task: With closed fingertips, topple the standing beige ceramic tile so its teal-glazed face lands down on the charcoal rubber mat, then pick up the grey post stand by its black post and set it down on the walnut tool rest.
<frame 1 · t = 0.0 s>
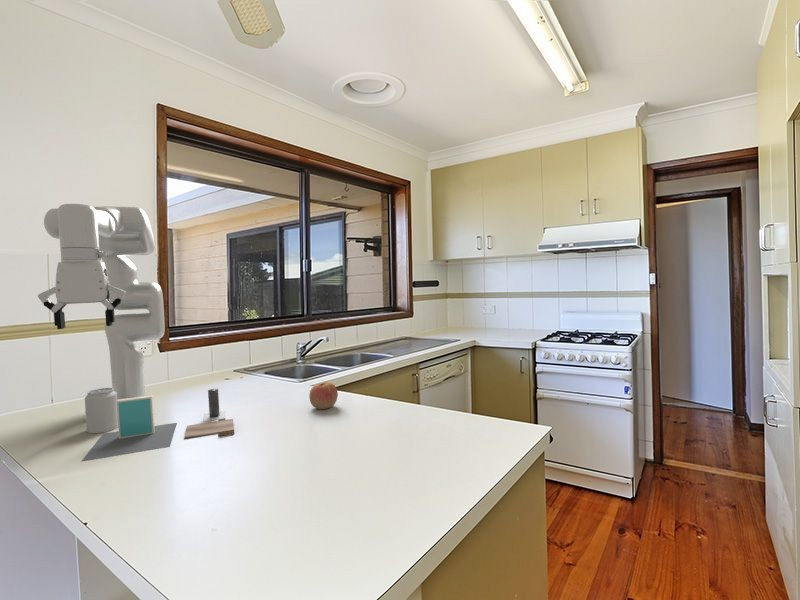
hand: (85, 327, 102), 31 cm above the countertop, fingers open, 9 cm apart
can: (103, 432, 119), on the countertop
tile: (137, 434, 113), point 1 cm above the countertop, touching mat
mat: (134, 442, 110), on the countertop
grey post stand: (214, 419, 127), on the countertop
tool rest: (210, 431, 116), on the countertop
apple: (323, 408, 134), on the countertop
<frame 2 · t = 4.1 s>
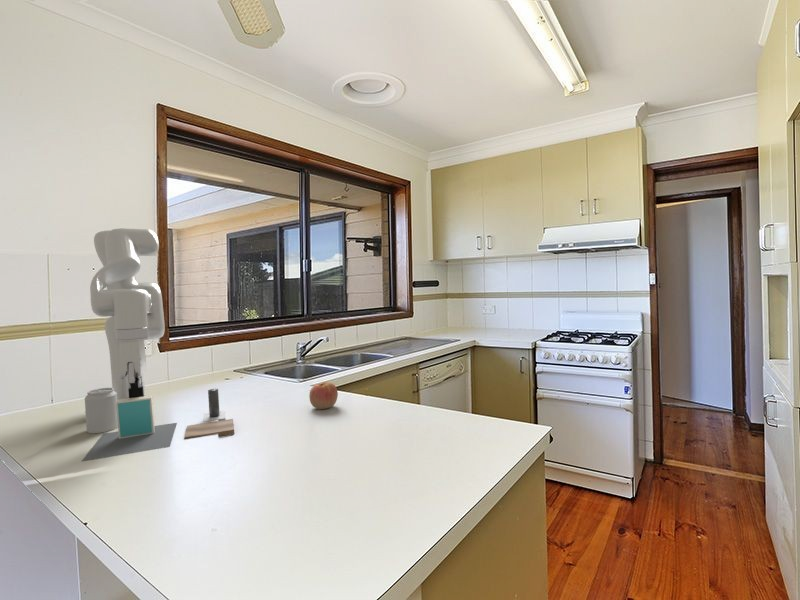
hand: (136, 401, 115), 9 cm above the countertop, fingers closed
tile: (137, 434, 113), point 1 cm above the countertop, touching gripper, mat
everything else where it was.
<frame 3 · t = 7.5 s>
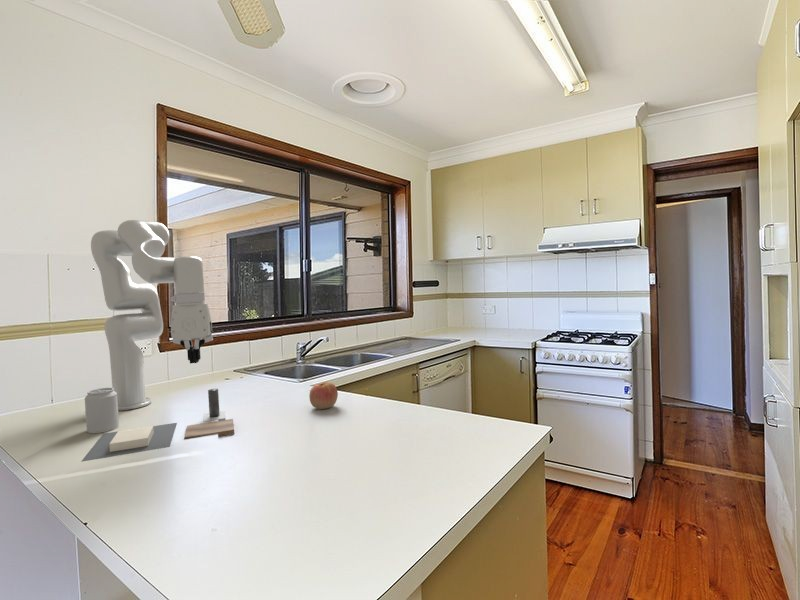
hand: (194, 362, 122), 18 cm above the countertop, fingers closed
tile: (136, 431, 112), point 2 cm above the countertop, tilted 90°, touching mat
everything else where it was.
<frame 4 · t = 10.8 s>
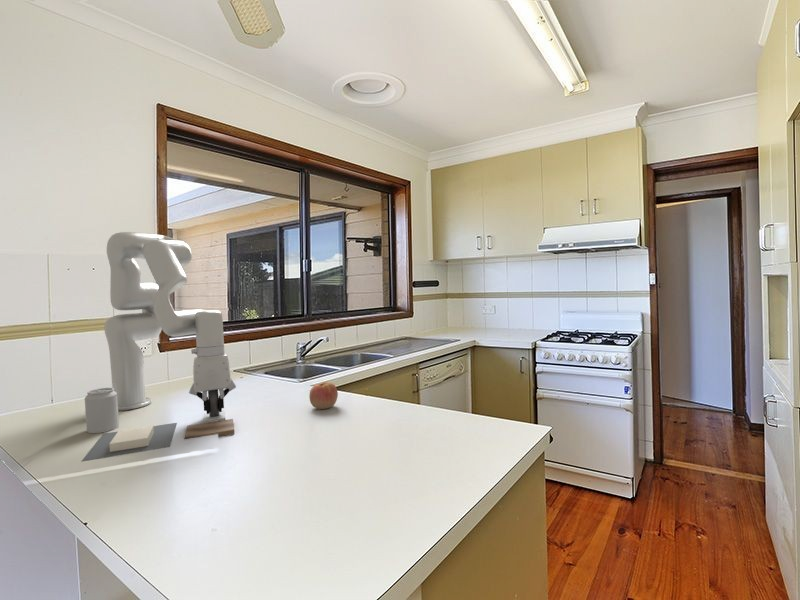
hand: (214, 411, 127), 2 cm above the countertop, fingers closed on grey post stand, 2 cm apart
grey post stand: (214, 418, 127), on the countertop, touching gripper
everything else where it was.
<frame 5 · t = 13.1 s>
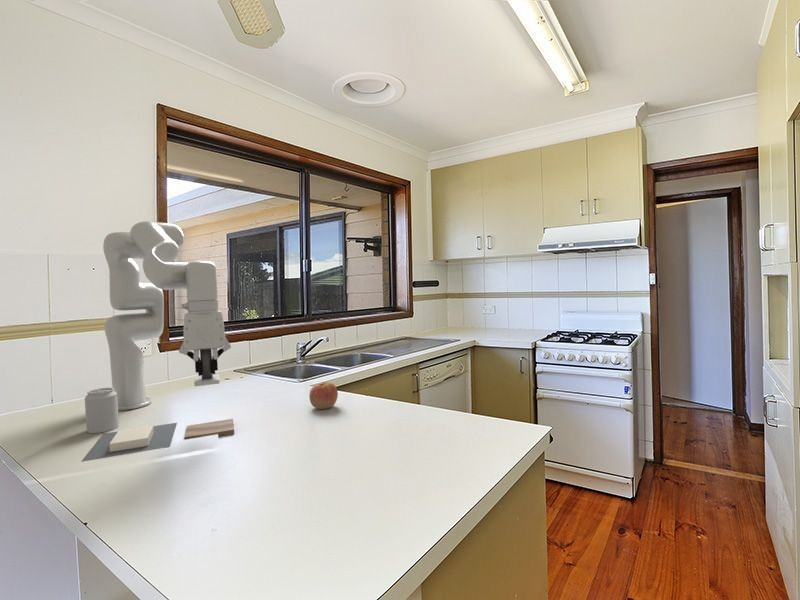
hand: (207, 373, 115), 16 cm above the countertop, fingers closed on grey post stand, 2 cm apart
grey post stand: (207, 381, 115), point 14 cm above the countertop, touching gripper
everything else where it was.
when the fingers open (5 cm above the countertop, at t = 15.3 s): grey post stand drops 1 cm, resting on tool rest.
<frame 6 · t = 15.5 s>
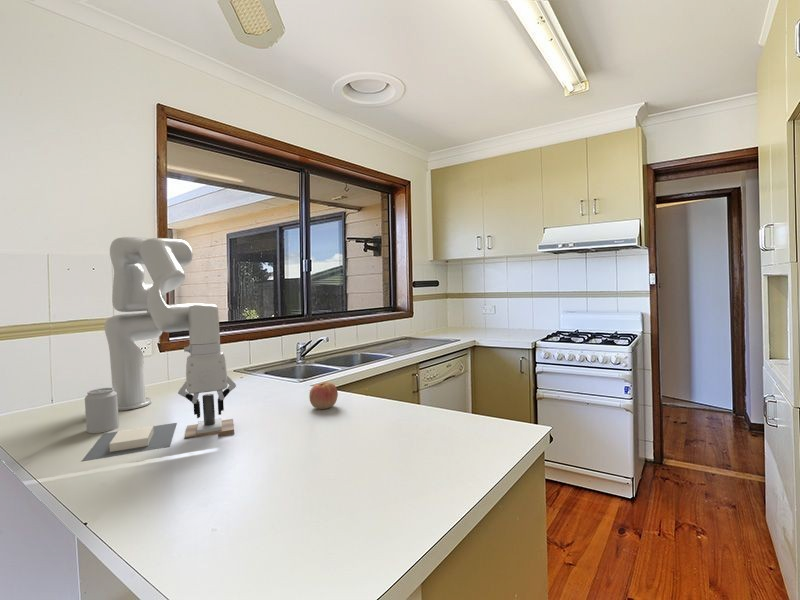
hand: (209, 414, 116), 5 cm above the countertop, fingers open, 4 cm apart
grey post stand: (209, 427, 116), point 1 cm above the countertop, touching tool rest
everything else where it was.
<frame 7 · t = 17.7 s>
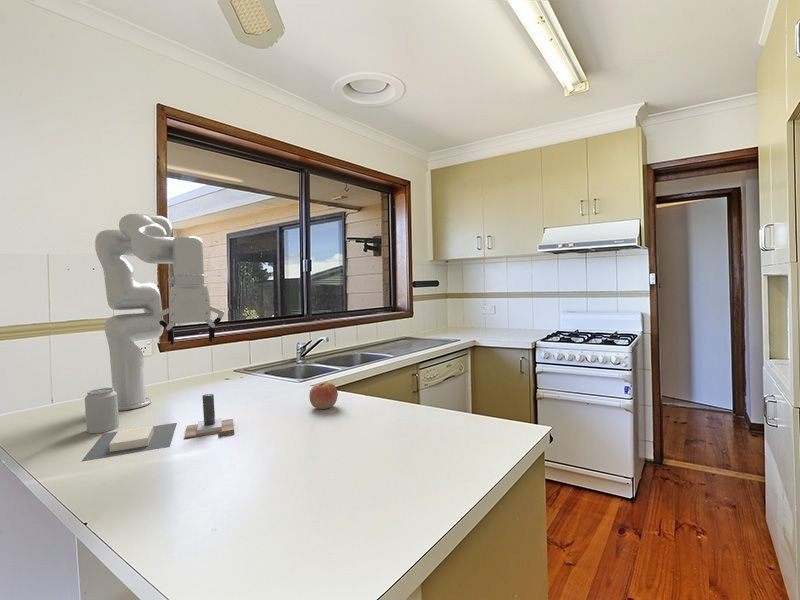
hand: (192, 342, 118), 24 cm above the countertop, fingers open, 9 cm apart
nothing on the countertop moved.
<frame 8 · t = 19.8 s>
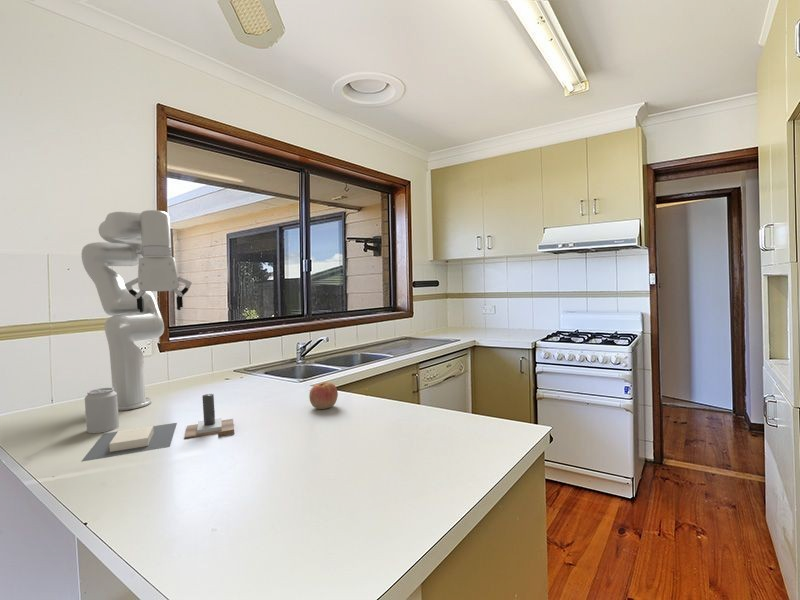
hand: (160, 310, 125), 33 cm above the countertop, fingers open, 9 cm apart
nothing on the countertop moved.
at the end: tile tilted 90°; tile inside the target area on the mat (5.9 cm from its centre), point 1.9 cm above the mat's base; grey post stand 0.1 cm from the tool rest (horizontally) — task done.
